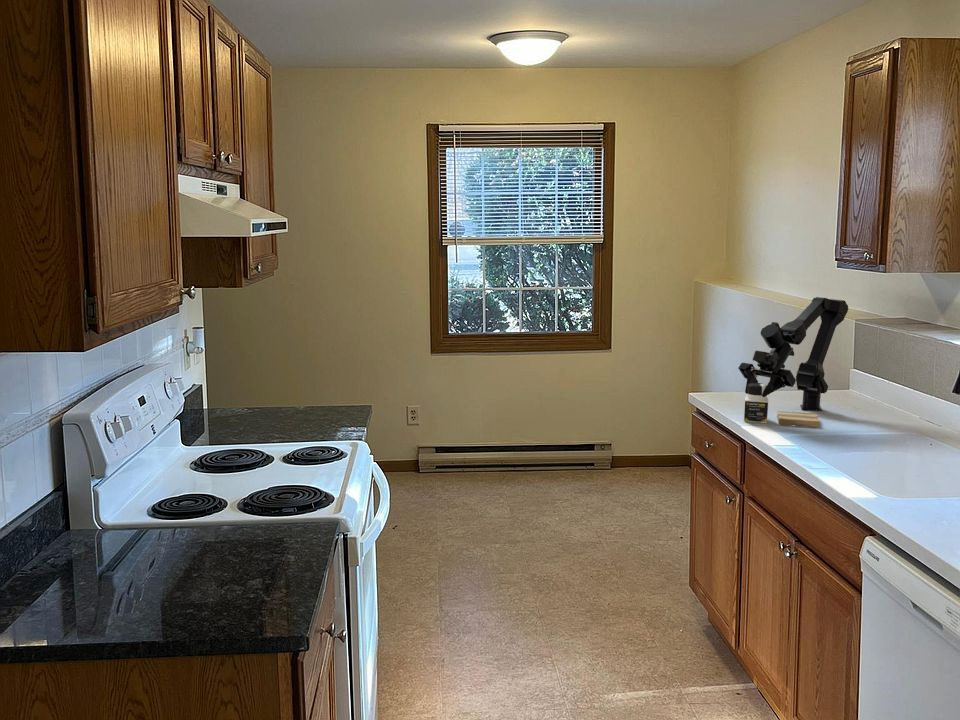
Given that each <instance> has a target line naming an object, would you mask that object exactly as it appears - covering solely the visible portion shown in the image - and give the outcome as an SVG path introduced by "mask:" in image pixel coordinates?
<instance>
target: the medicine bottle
mask: <svg viewBox="0 0 960 720" xmlns="http://www.w3.org/2000/svg"><path fill="white" fill-rule="evenodd" d="M767 385H768V384H765V383H763V382H762V383H760V382H758V383H751V384H749V385H748V390H747V394H746V395H745V399H744V408H743V409H744V411H743V422H744V421H752V422H751V423H756V422H766V423H765V424H767V423H768V414H769V412H768V411H769V398H768V397H767V396H768V395H767V396H765V397H763V396H762V393H763V391H764V390H765V388H766V386H767Z"/></svg>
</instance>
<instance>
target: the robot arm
mask: <svg viewBox="0 0 960 720" xmlns="http://www.w3.org/2000/svg"><path fill="white" fill-rule="evenodd" d="M848 312H849V306H848V304H847V301H845V300H843V299H842V300H841V299H834V298H828V297H819V296H816V297H813V298H812V300H811V303H809V305H807V307H806V308H805V309H804V310H802V312H801V313H800V314H799V315H798V316H797V317H796V318H795V319H794V320H791V321H788V322H786V323H785V324H783V325H782V326H781V327H780V324H779V322H775V321H771V323H770V324H768V325H766V326H764V327H763V328H761V330H760V336H761V337H762V339H763V341H764V342H765V344H766V345H767V347H768V348H769V349H770V351H769V352H768V351H761V350H754V353H753V357H752V361H753V362H757V364H756V365H757V367H758V368H756V367H755V366H754V364H753V363H747V362H741V363H740V364H739V366H738V368H737V369H738V370H739V372H740V373H741V375H742V376H743V378H744V379H746V385H745V390H744V392H745V394H746V395H747V390H748V385H749V384H751V383H759V381H758V379H757V377H758V376H759V377H764V378H768V379H769V381H768V382H767V384H766V385H767V386H766V388H765V390H764V391H763V393H762V396H763V397H765V396H769V395H770V394H772V393H774V392H775V391H777V390H780V389H782V388H785V387H788V388H789V387H790V388H794V385H795V384H796V387H797V390H798V391H803V392H802V393H803V394H802V404H800V409H801V410H804V411H816V412H817V411H820V412H821V411H822V410H823V409H822V407H821V396H822V395H821V394H826V393H827V392H828V390H829V389H828V388H829V385H828V384H827V382H826V380H825V374H826V373H825V371H824V370H825V369H824V363H825V359H826V356H827V355H828V354H827V353H828V351H829V347H830V345H831V342H832V339H833V336H834V334H835V330H836V328H837V326H839V324H841V323H842V322H844V320H845V317H846V316H847V313H848ZM819 317H820V321H821V323H820V326H819V329H818V330H817V334H816V336H815V339H814V342H813V344H812V348H811V351H810V354H809V356H808V359H807V360H806V361H805V362H800V364H799V366H798V369H797V371H796V376H794V375H793V373H792V371H791V369H785V367H786V365H785V363H786V361H787V359H788V358H789V356H790V357H794V356H795V352H794V347H792V346H791V345H795V346H797V345H801V344H802V342H803V341H804V339H805V338H806V336H807V330H808V329H809V328H810V327H811V325H812V324H814V323H815V322H816V320H817V319H818V318H819Z"/></svg>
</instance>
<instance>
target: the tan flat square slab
mask: <svg viewBox="0 0 960 720" xmlns="http://www.w3.org/2000/svg"><path fill="white" fill-rule="evenodd" d="M776 418H777V423H778V426H786V425H795V426H794V427H801V426H808V427H807V428H817V427H819V428H820V419H819V417H818V415H817V413H815V412H800V411H799V412H798V411H797V412H796V411H795V412H794V411H781V410H777V412H776Z"/></svg>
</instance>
